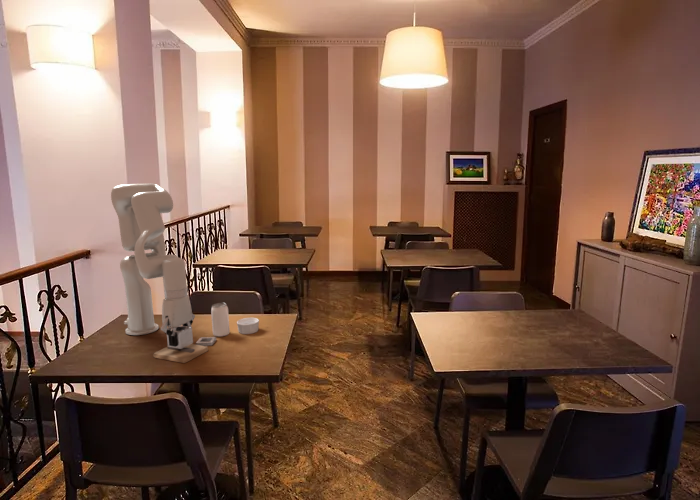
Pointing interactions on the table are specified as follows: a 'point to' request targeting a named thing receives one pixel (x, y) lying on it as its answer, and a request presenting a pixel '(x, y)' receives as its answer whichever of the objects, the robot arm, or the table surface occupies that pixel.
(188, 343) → the link
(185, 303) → the robot arm
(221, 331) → the can
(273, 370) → the table surface
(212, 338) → the link
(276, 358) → the table surface
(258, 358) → the table surface
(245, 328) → the ramekin
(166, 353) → the base
